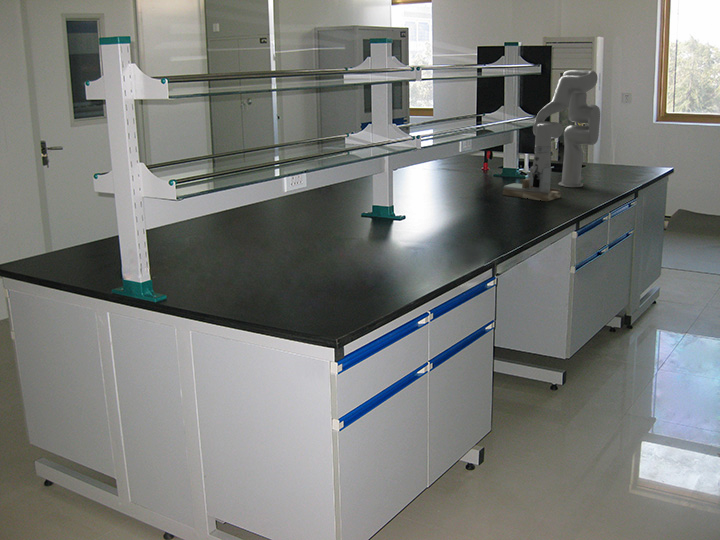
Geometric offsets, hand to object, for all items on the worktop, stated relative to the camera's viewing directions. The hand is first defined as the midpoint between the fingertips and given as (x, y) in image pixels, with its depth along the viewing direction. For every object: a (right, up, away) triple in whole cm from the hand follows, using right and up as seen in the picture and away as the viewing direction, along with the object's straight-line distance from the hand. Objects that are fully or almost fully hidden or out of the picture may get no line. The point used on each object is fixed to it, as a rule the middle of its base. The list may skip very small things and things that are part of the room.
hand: (539, 185), depth 369 cm
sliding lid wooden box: (-3, -5, +4) cm, 7 cm away
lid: (-8, 0, +8) cm, 11 cm away
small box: (0, -4, +1) cm, 4 cm away
